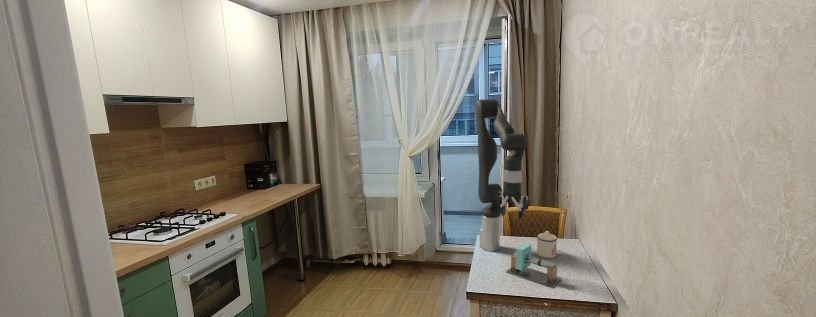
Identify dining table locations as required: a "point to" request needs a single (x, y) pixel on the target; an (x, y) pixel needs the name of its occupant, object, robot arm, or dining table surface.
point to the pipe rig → (533, 275)
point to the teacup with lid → (546, 245)
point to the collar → (522, 256)
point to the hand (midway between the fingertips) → (511, 217)
